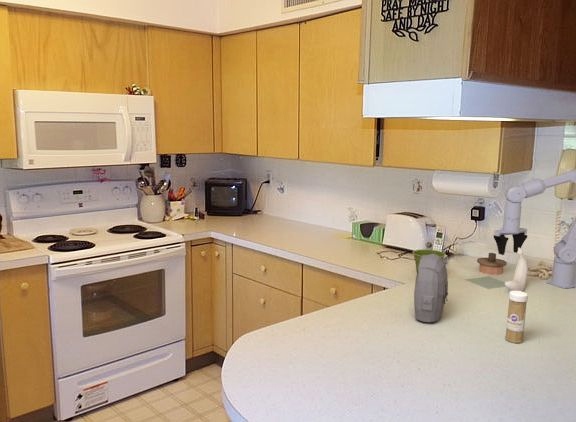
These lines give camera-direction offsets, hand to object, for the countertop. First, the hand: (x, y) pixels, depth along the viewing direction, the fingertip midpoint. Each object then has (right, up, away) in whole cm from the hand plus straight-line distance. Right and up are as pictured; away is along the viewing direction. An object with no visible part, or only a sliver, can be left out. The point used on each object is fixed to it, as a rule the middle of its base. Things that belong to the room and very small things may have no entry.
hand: (508, 253), depth 194 cm
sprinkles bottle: (-22, -19, -55) cm, 62 cm away
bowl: (-2, -9, +11) cm, 15 cm away
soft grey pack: (-41, -17, -40) cm, 60 cm away
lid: (-2, -5, +11) cm, 12 cm away
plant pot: (-32, -11, -3) cm, 34 cm away
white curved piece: (-3, -13, -12) cm, 18 cm away
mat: (-9, -11, -3) cm, 14 cm away
